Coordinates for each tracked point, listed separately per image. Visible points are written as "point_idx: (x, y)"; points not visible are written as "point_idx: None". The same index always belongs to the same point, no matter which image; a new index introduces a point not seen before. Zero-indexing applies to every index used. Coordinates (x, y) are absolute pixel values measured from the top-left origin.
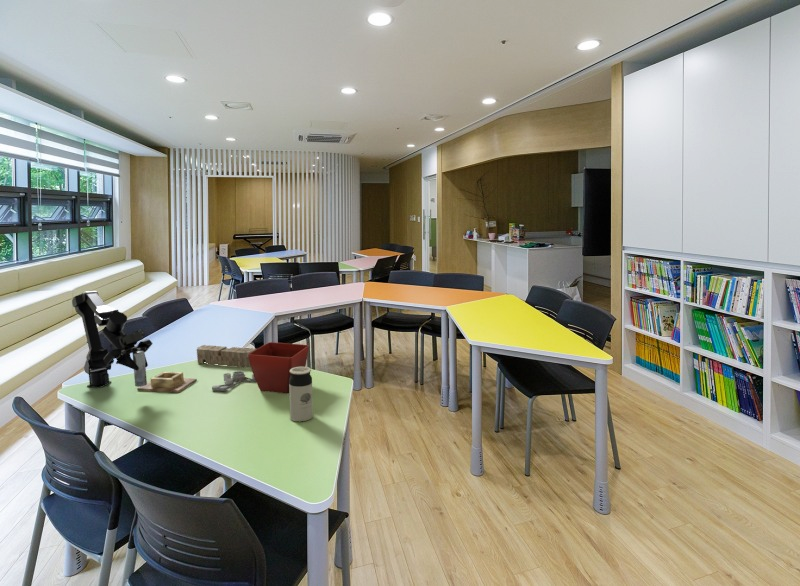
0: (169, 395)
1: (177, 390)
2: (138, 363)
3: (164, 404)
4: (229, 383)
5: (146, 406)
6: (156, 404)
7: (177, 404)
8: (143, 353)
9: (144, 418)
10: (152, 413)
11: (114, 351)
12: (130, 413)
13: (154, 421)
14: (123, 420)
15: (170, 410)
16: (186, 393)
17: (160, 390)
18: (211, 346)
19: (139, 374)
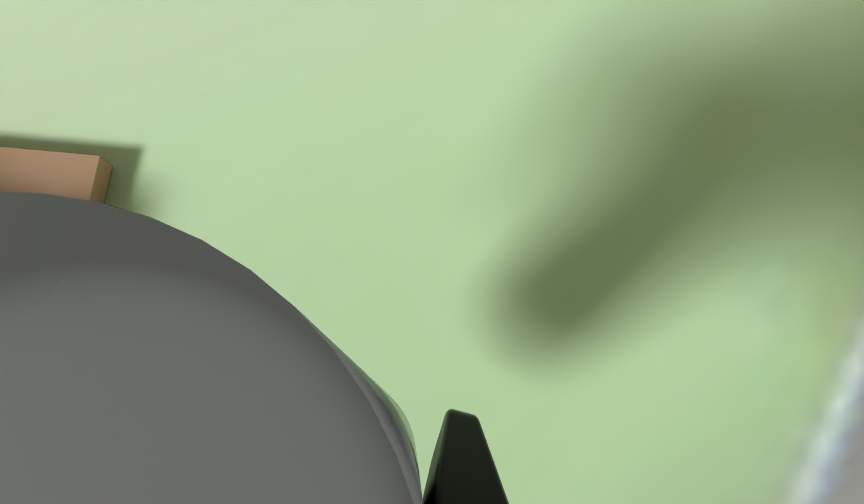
0: (192, 225)
1: (98, 168)
2: (407, 441)
3: (444, 159)
4: None
5: (506, 311)
6: (448, 237)
7: (437, 42)
8: (72, 218)
9: (779, 178)
10: (665, 164)
11: None
12: (695, 377)
13: (820, 64)
14: (857, 348)
15: (580, 41)
16: (141, 80)
17: None
18: None
19: (408, 427)
